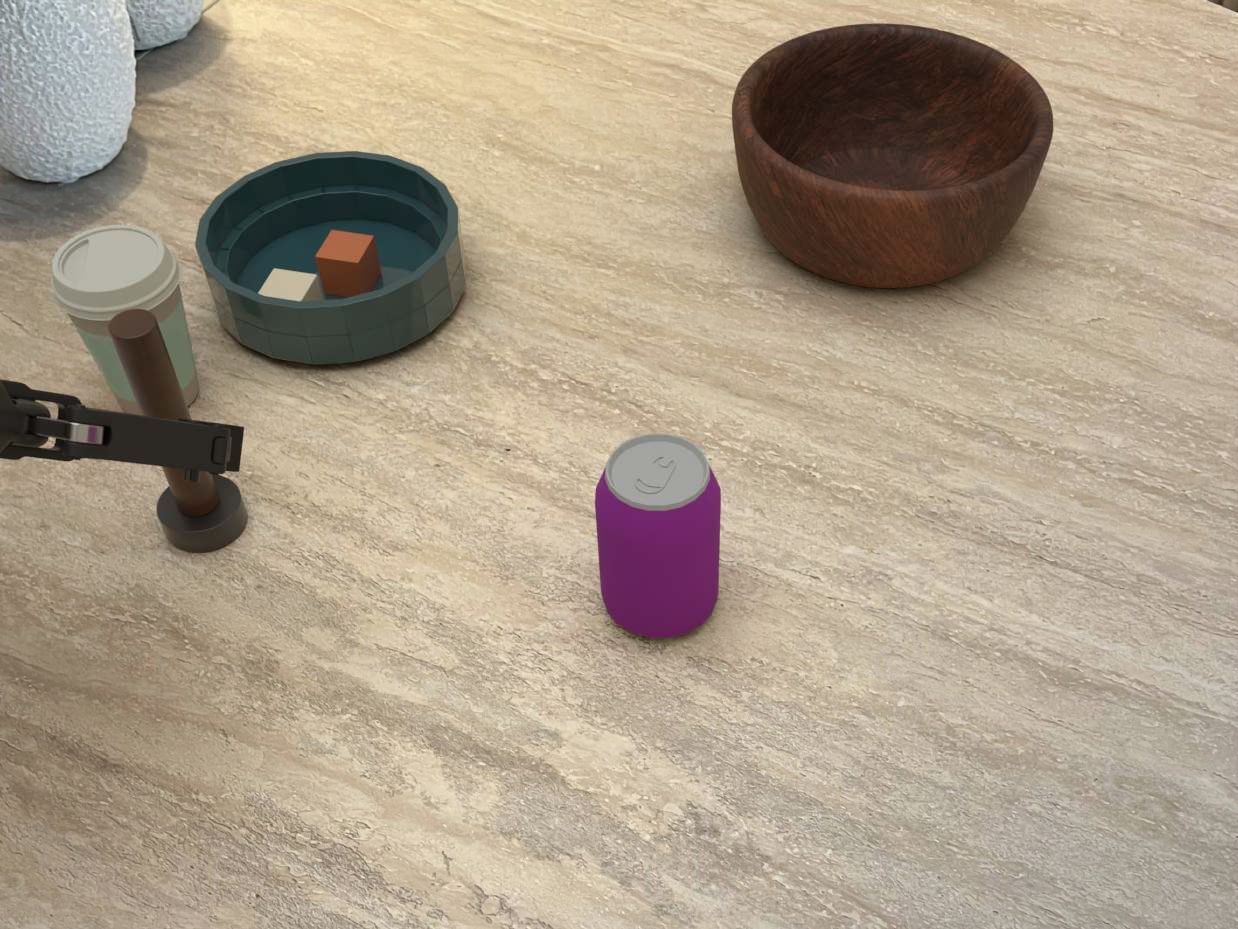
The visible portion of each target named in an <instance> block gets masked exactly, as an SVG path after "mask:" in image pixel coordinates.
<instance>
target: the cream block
mask: <svg viewBox="0 0 1238 929" xmlns="http://www.w3.org/2000/svg"><path fill="white" fill-rule="evenodd" d="M258 294H261V295H263V296H268V297H275V298H281V299H288V300H295V301H317V300H323V298H322V294H321V289H320V285H319V281H318V277H317V275H316V274H309V273H303V272H296V271H289V270H282V269H276V268H274V269H273V270H272V272H271V274H270V275H269V277H268V278H267V280H266V281H265V283H264V284H263V286H262V288H261V289H260V291H259V292H258Z"/></svg>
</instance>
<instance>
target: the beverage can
mask: <svg viewBox="0 0 1238 929" xmlns="http://www.w3.org/2000/svg"><path fill="white" fill-rule="evenodd" d="M705 454H706V453H705V452H704V451H703V450H702V449H701V448H700V447H699V446H698V445H697V444H696V443H695V442H693V441H690V440H689V439H686V438H684V437H683V436H680V435H676V434H671V433H668V432H665V433H664V432H663V433H662V432H661V433H660V432H650V433H645V434H641V435H636V436H633V437H631V438H629V439H627V440H625V441H623V442H621V443H620V444H619V445H618V446H617V447H615V449H614V450H612V451H611V452H610V454H609V457H608V459H607V461H606V463H605V467H604V469H603V471H602V473H601V476H600V478H599V480H598V482H597V483H596V486H595V495H594V510H595V526H596V540H597V553H598V554H597V555H598V568H599V582H600V594H601V598H602V602H603V605H604V607H605V610H606V613H607V615H609V617H610V618H611V619H612V620H613V621H614V622H615V624H616V625H617V626H619V627H620V628H622V629H624V630H626V631H627V632H629V633H631V634H634V635H638V636H641V637H646V638H650V639H669V638H674V637H678V636H682V635H685V634H688V633H690V632H691V631H693V630H695V629H697V628H699V627H701V626H702V625H703V624H704V623H705V621H707V620H708V618H710V617H711V616H712V614H713V611H714V609H715V607H716V605H717V602H718V597H719V587H720V586H719V585H720V584H719V582H720V551H721V550H720V547H721V517H722V516H721V515H722V514H721V512H722V510H721V509H722V489H721V487H720V484H719V483H718V480H717V478H716V476H715V474H714V471H713V470H712V468H711V465H710V463H709V461H708V458H707V456H706V455H705Z"/></svg>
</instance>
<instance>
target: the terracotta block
mask: <svg viewBox="0 0 1238 929" xmlns="http://www.w3.org/2000/svg"><path fill="white" fill-rule="evenodd" d="M315 258H316V263H317V267H318V271H319V275H320V279H321V284H322V288H323V292H324V294H328V295H335V296H342V297H352V296H356V295H360V294H364V293H368V292H371V290H372V289H373V287H374V285H375V283H376V282H377V280H378V278H379V276H380V274H381V269H380V264H379V259H378V254H377V249H376V244H375V239H374V236H372V235H365V234H358V233H351V232H344V231H337V230H331V232H330V233H329V235H328V236H327V238H326V240H325V241H324V243H323V244H322V246H321V248H320V249H319V251H318V253H317V254H316V256H315Z"/></svg>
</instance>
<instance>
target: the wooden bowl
mask: <svg viewBox="0 0 1238 929" xmlns="http://www.w3.org/2000/svg"><path fill="white" fill-rule="evenodd" d="M731 124H732V133H733V143H734V152H735V158H736V164H737V171H738V175H739V180H740V184H741V188H742V191H743V194H744V196H745V199H746V202H747V205H748V207H749V210H750V211H751V214H752V215H753V217H754V219H755V221H756V223H757V225H758V226H759V228H760V230H761V231H762V233H763V234H764V235H765V236H766V238H767V239H768V241H769V242H770V243H771V244H772V245H773V246H774V247H775V248H776V249H777V250H778V251H779V252H780V253H781V254H783V255H784V256H785V257H786V258H788V259H789V260H790V261H793V262H794V263H796V264H797V265H799V266H800V267H802V268H804V269H806V270H808V271H809V272H812V273H813V274H816V275H818V276H821V277H824V278H825V279H829V280H832V281H836V282H839V283H843V284H848V285H853V286H857V287H865V288H874V289H902V288H903V289H905V288H914V287H920V286H926V285H929V284H930V285H931V284H933V283H934V284H935V283H938V282H942V281H945V280H947V279H950V278H952V277H955V276H957V275H960V274H962V273H964V272H966V271H968V270H969V269H971V268H973V267H974V266H976V265H978V264H979V263H980V262H982V260H984V259H985V258H986V257H987V256H989V255H990V254H991V253H992V252H993V251H994V250H995V249H996V248H997V247H998V246H999V245H1000V244H1001V243H1002V242H1003V241H1004V239H1005V238H1006V237H1007V236H1008V235H1009V233H1010V232H1011V231H1012V229H1013V228H1014V226H1016V223H1017V222H1018V220H1019V219H1020V217H1021V216H1022V214H1023V213H1024V210H1025V209H1026V206H1027V204H1028V202H1029V200H1030V199H1031V196H1032V194H1033V192H1034V190H1035V187H1036V185H1037V182H1038V181H1039V177H1040V176H1041V172H1042V170H1043V167H1044V164H1045V162H1046V159H1047V156H1048V153H1049V150H1050V147H1051V144H1052V140H1053V137H1054V136H1053V135H1054V113H1053V109H1052V104H1051V102H1050V100H1049V97H1048V95H1047V93H1046V91H1045V90H1044V88H1043V87H1042V86H1041V84H1040V83H1039V82H1038V81H1037V79H1036V78H1035V77H1034V76H1033V75H1032V74H1031V73H1030V72H1029V71H1028V70H1027V69H1025V67H1023V66H1022V65H1020V63H1018V62H1016V61H1015V60H1014V59H1012V58H1011V57H1010V56H1008V55H1006V54H1004V53H1003V52H1002V51H999V50H997V49H995V48H993V47H991V46H989V45H988V44H985V43H982V42H979V41H977V40H976V39H973V38H970V37H967V36H965V35H960V34H958V33H955V32H951V31H946V30H942V29H937V28H933V27H926V26H922V25H920V26H919V25H914V24H905V23H903V24H902V23H886V22H885V23H883V22H881V23H879V22H877V23H857V24H846V25H845V24H844V25H839V26H832V27H829V28H823V29H820V30H815V31H811V32H808V33H805V34H802V35H799V36H796V37H794V38H792V39H789V40H787V41H785V42H782V43H781V44H779V45H776V46H774V47H773V48H771V49H770V50H768V51H766V52H765V53H764V54H762V55H761V56H760V57H758V58H757V59H755V61H754V62H753V63H751V64H750V66H748V67H747V69H746V70H745V71H744V72H743V74H742V76H741V77H740V79H739V81H738V82H737V85H736V88H735V90H734V94H733V98H732V102H731Z"/></svg>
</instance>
